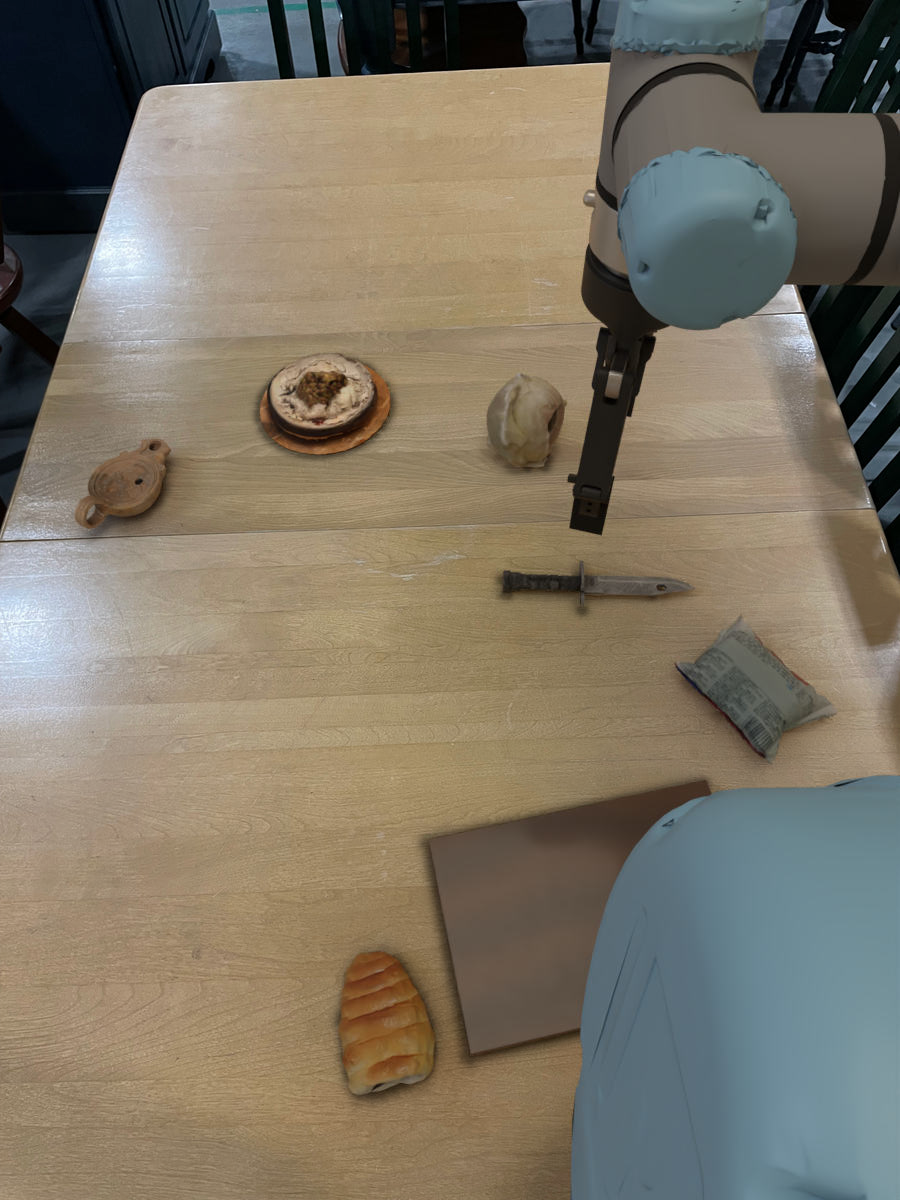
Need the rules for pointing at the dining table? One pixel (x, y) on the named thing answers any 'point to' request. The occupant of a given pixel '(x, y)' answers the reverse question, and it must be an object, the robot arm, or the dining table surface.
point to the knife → (592, 584)
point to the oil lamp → (125, 484)
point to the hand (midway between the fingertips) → (602, 467)
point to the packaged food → (754, 689)
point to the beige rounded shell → (525, 420)
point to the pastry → (383, 1026)
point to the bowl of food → (324, 404)
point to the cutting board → (536, 911)
